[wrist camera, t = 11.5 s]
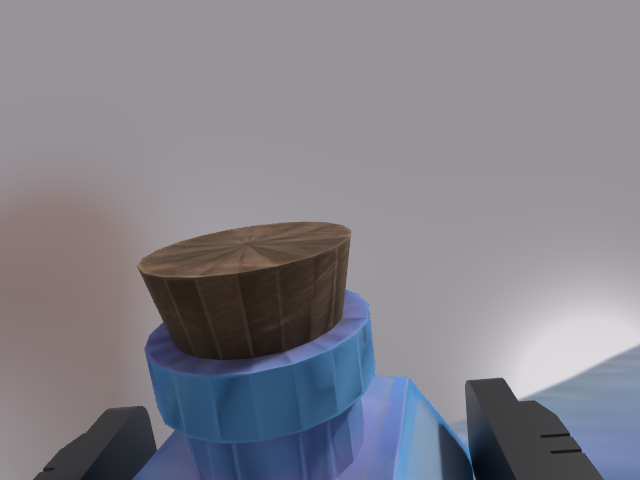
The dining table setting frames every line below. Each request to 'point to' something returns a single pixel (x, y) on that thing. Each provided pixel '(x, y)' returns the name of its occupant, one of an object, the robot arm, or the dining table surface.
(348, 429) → the perfume bottle
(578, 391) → the dining table surface
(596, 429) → the dining table surface
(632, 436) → the dining table surface
